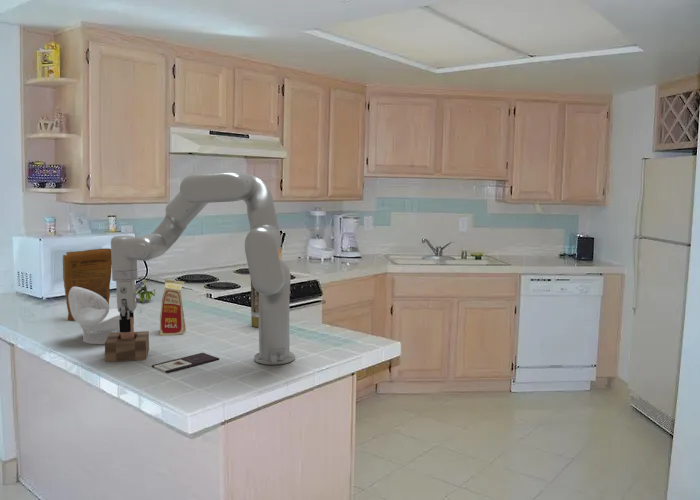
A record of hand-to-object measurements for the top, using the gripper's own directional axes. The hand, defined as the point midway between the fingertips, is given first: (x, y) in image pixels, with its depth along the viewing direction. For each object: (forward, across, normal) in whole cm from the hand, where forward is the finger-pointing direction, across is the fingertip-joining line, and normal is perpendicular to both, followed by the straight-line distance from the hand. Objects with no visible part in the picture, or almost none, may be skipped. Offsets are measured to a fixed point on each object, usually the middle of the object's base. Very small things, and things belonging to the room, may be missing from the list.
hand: (127, 328), depth 194 cm
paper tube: (+9, +29, -45) cm, 54 cm away
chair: (+9, +21, +11) cm, 26 cm away
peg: (+9, 0, 0) cm, 9 cm away
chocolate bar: (+10, -13, -18) cm, 24 cm away
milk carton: (+9, +27, -13) cm, 31 cm away
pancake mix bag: (+9, +56, +20) cm, 60 cm away
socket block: (+9, 0, 0) cm, 9 cm away
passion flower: (+9, +88, +3) cm, 88 cm away
